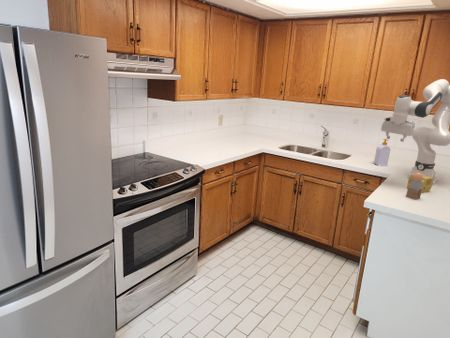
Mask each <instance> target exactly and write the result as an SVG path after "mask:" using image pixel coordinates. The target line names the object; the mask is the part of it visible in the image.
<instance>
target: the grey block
mask: <svg viewBox="0 0 450 338" xmlns="http://www.w3.org/2000/svg"><path fill="white" fill-rule="evenodd" d="M422 183H423V181H422V182H415V181H413V180H411V183H410V187H409V188H411V189H415V190H420V189H421V187H422Z"/></svg>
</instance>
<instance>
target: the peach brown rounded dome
mask: <svg viewBox="0 0 450 338" xmlns="http://www.w3.org/2000/svg"><path fill="white" fill-rule="evenodd" d="M422 178H423V173H419V172H414V175H413V179H412V180H413V181H415V182H422Z"/></svg>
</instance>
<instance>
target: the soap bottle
mask: <svg viewBox="0 0 450 338" xmlns="http://www.w3.org/2000/svg"><path fill="white" fill-rule="evenodd" d="M383 140H384V141H383V142H382V144H379V145H378V146H377V147H376V150H375V155H374V161H373V164H374V165H375V164H376V165H375V166H378V165H381V166H380V167H387V166H388V163H389V158H390V153H391V147H390V146H388V142H389V139H386V138H385V139H383ZM383 165H384V166H383Z"/></svg>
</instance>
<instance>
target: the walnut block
mask: <svg viewBox="0 0 450 338" xmlns="http://www.w3.org/2000/svg"><path fill="white" fill-rule="evenodd" d="M421 192H422V189H420V190H415V189H411V188H407V191H406V194H405V197H406V198H409V199H412V200H415V201H416V200H419V199H420V198H421V195H422V193H421Z"/></svg>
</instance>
